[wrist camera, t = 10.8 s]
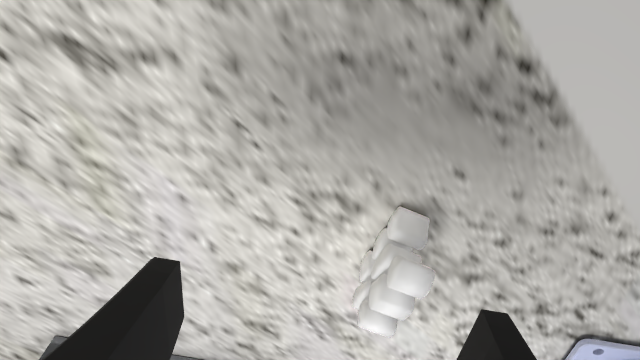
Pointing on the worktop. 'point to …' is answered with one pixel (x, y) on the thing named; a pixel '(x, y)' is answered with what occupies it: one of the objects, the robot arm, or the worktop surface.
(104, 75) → the worktop surface
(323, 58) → the worktop surface
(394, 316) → the marshmallow
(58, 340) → the organiser
